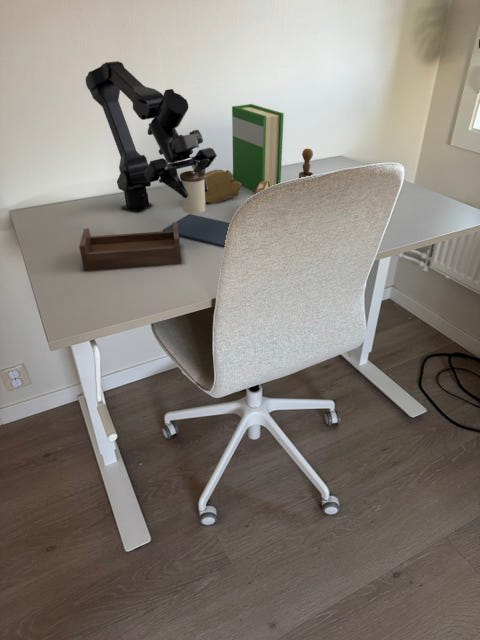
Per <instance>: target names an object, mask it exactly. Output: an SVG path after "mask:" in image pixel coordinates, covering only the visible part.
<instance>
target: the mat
mask: <svg viewBox="0 0 480 640" xmlns="http://www.w3.org/2000/svg"><path fill="white" fill-rule="evenodd" d="M176 222H177V224H178V233H179V237H182V238H187V239H191V240H194V241H198V242H201V243H207V244H210V245H213V246H218V247H221V248H222V247H223V248H225V247H224V245H225V240H226V235H227V231H228V227H229V224H230V223H231V222H227V221H223V220H218V219H213V218H210V217H205V216H200V215H197V214H189V213H188V214H187V215H185V216H184V217H182V218H180V219H179V220H177V221H176ZM162 231H173V223H171V224H170V225H169V226H167V227H166V228H164V229H163V230H162Z"/></svg>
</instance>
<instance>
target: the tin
mask: <svg viewBox="0 0 480 640" xmlns="http://www.w3.org/2000/svg"><path fill="white" fill-rule="evenodd" d="M268 187H270V184H269V181H263V182H260V183H259V185H258V187H257V189H256V191H254V195H255V194H256V193H258V192H260V191H262V190H264V189H266V188H268Z"/></svg>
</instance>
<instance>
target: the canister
mask: <svg viewBox="0 0 480 640" xmlns="http://www.w3.org/2000/svg"><path fill="white" fill-rule="evenodd" d="M179 179H180V181H181V183H182V184H183V186H184V188H185V190H186V193H187V195H188V197H187V198H184V197H183V196H182V195H181V200H182V210H183V212H184V213H186V214H188V215H189V214H191V215H198V214H202V213H204V212H205V211H206V209H207V208H206V202H205V182H204V179H205V174H204V173H203V172H200V171H193V170H187V171H183V172H181V173H180V174H179Z"/></svg>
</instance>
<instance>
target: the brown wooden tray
mask: <svg viewBox="0 0 480 640" xmlns="http://www.w3.org/2000/svg"><path fill="white" fill-rule="evenodd" d="M172 224H173V231H163V230H162V231H148V232H134V233H133V232H132V233H121V234H119V233H118V234H107V235H91V232H90V228H88V227H87V228H83V231H82V235H81V238H80V241H79V244H78V248H79V253H80V257H81V262H82V267H83V271H84V272H89V271H101V270H114V269H127V268H128V269H129V268H141V267H152V266H154V267H155V266H165V265H178V264H182V255H181V243H180V236H179V233H178V224H177V221H175V222H172Z"/></svg>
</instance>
